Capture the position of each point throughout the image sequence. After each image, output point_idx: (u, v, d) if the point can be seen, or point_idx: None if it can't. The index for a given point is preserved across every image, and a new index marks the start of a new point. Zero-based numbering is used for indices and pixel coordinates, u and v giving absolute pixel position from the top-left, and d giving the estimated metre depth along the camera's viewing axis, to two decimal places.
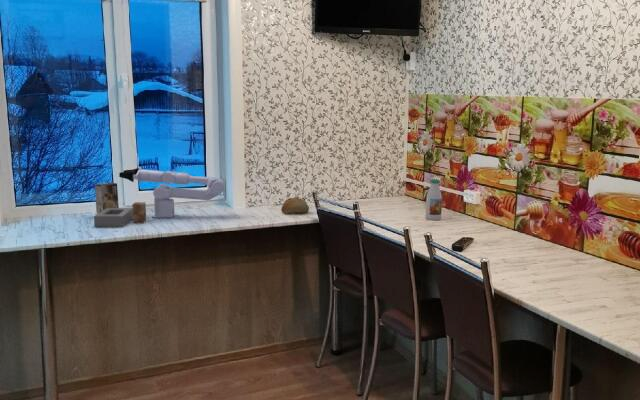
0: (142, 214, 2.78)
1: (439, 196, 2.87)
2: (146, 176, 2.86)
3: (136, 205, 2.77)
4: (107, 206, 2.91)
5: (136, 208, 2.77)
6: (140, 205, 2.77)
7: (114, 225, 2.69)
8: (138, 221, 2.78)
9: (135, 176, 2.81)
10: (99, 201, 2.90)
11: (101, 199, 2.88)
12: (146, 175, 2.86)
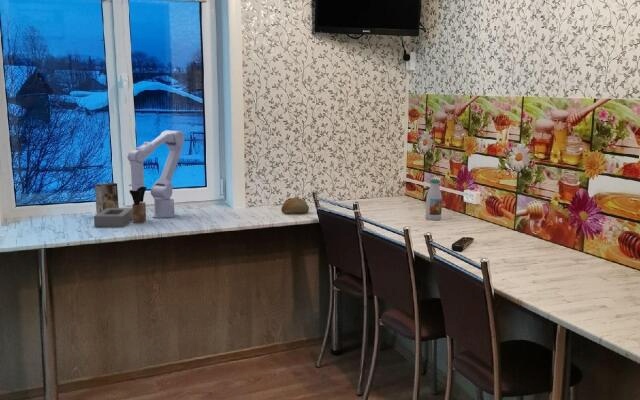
0: (142, 214, 2.78)
1: (439, 196, 2.87)
2: (136, 177, 2.74)
3: (136, 205, 2.77)
4: (107, 206, 2.91)
5: (136, 208, 2.77)
6: (140, 205, 2.77)
7: (114, 225, 2.69)
8: (138, 221, 2.78)
9: (133, 188, 2.70)
10: (99, 201, 2.90)
11: (101, 199, 2.88)
12: (135, 178, 2.74)
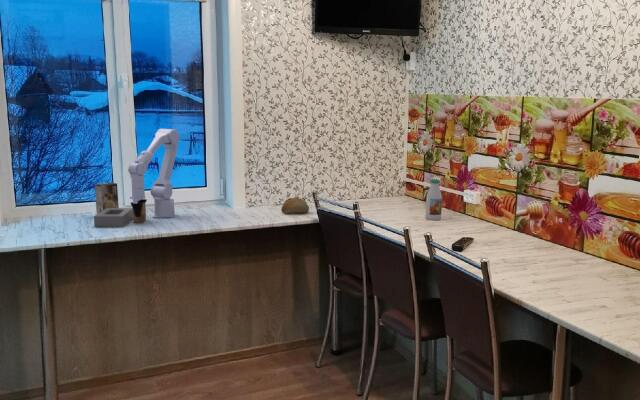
0: (142, 214, 2.78)
1: (439, 196, 2.87)
2: (136, 190, 2.75)
3: None
4: (107, 206, 2.91)
5: None
6: None
7: (114, 225, 2.69)
8: (138, 221, 2.78)
9: (134, 201, 2.71)
10: (99, 201, 2.90)
11: (101, 199, 2.88)
12: (135, 190, 2.75)
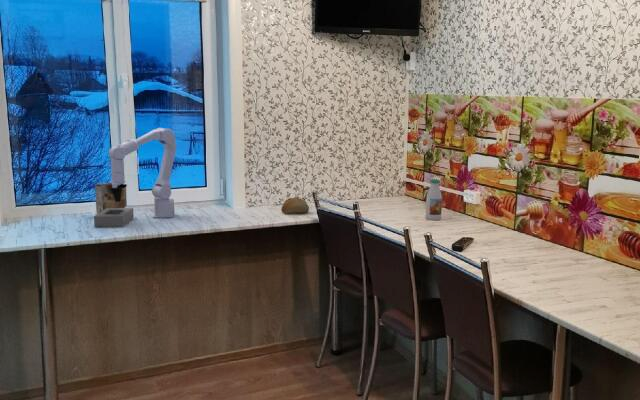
0: (122, 199, 2.75)
1: (439, 196, 2.87)
2: (116, 174, 2.72)
3: None
4: (107, 206, 2.91)
5: None
6: None
7: (114, 225, 2.69)
8: (118, 206, 2.75)
9: (113, 185, 2.69)
10: (99, 201, 2.90)
11: (101, 199, 2.88)
12: (115, 174, 2.72)
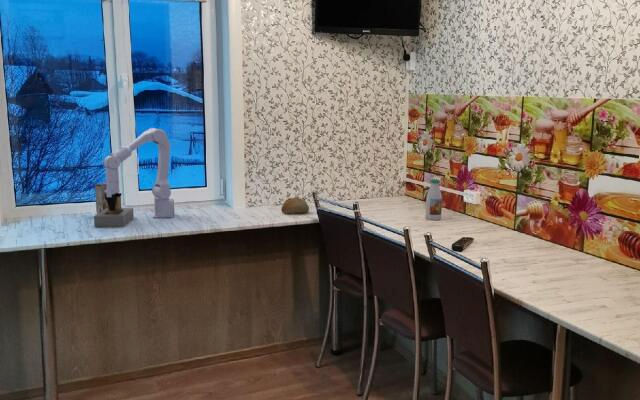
0: (117, 208, 2.75)
1: (439, 196, 2.87)
2: (111, 183, 2.73)
3: None
4: (107, 206, 2.91)
5: None
6: None
7: (114, 225, 2.69)
8: None
9: (108, 194, 2.69)
10: (99, 201, 2.90)
11: (101, 199, 2.88)
12: (109, 184, 2.73)
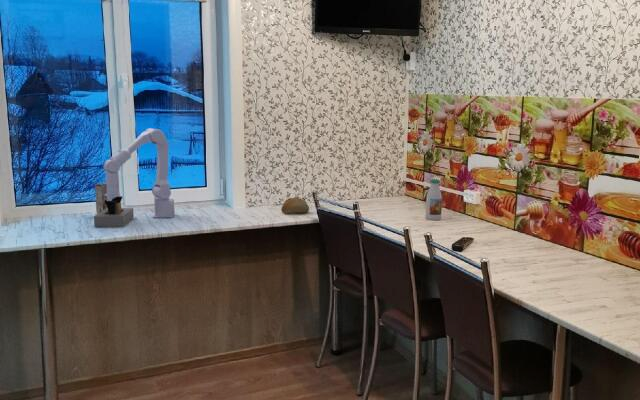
0: None
1: (439, 196, 2.87)
2: (111, 187, 2.73)
3: None
4: None
5: None
6: None
7: (114, 225, 2.69)
8: None
9: (108, 198, 2.69)
10: (99, 201, 2.90)
11: (101, 199, 2.88)
12: (110, 187, 2.73)
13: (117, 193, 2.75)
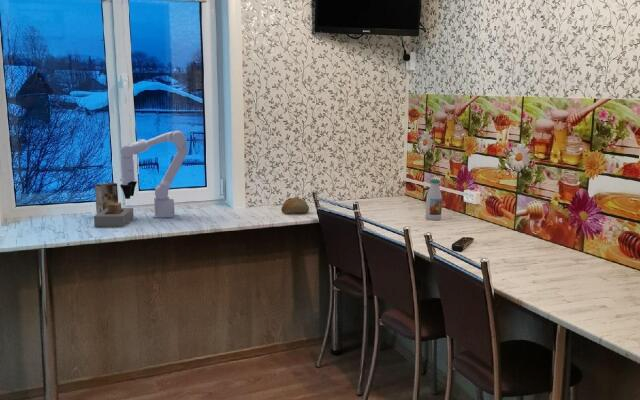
0: None
1: (439, 196, 2.87)
2: (126, 172, 2.82)
3: (111, 206, 2.75)
4: (107, 206, 2.91)
5: (111, 209, 2.75)
6: (115, 206, 2.75)
7: (114, 225, 2.69)
8: None
9: (124, 182, 2.78)
10: (99, 201, 2.90)
11: (101, 199, 2.88)
12: (125, 172, 2.82)
13: (132, 178, 2.84)
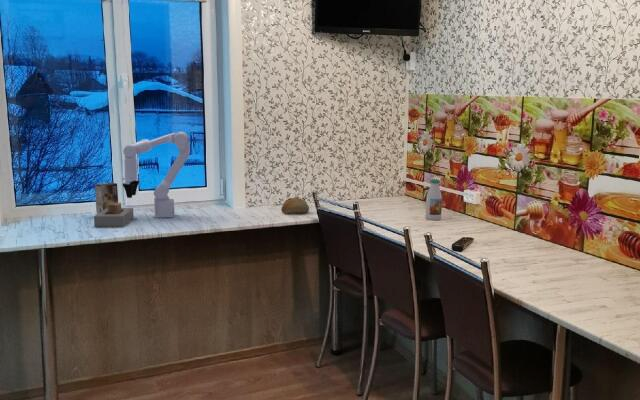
0: None
1: (439, 196, 2.87)
2: (129, 171, 2.84)
3: (111, 206, 2.75)
4: (107, 206, 2.91)
5: (111, 209, 2.75)
6: (115, 206, 2.75)
7: (114, 225, 2.69)
8: None
9: (126, 181, 2.80)
10: (99, 201, 2.90)
11: (101, 199, 2.88)
12: (128, 171, 2.84)
13: (135, 177, 2.86)
